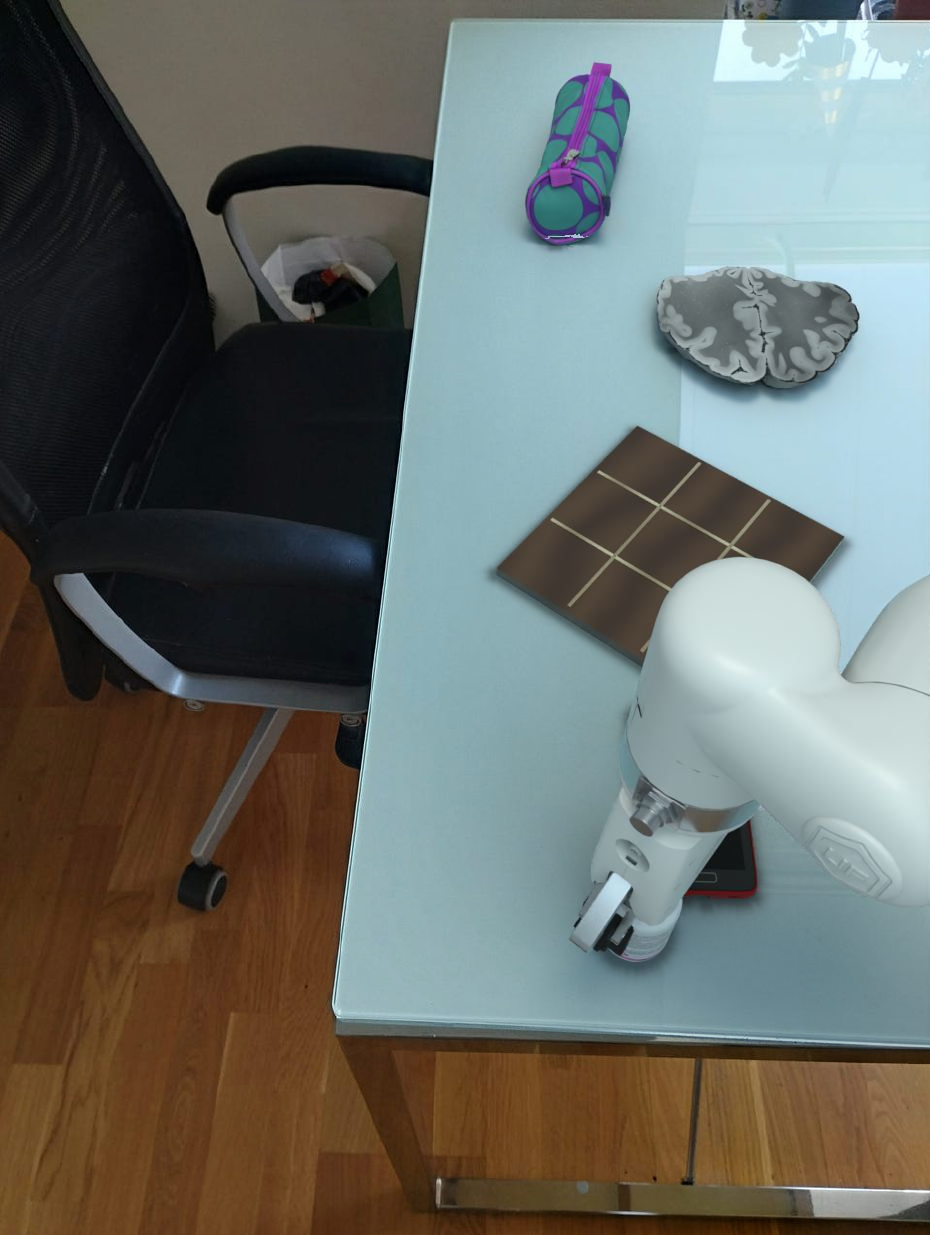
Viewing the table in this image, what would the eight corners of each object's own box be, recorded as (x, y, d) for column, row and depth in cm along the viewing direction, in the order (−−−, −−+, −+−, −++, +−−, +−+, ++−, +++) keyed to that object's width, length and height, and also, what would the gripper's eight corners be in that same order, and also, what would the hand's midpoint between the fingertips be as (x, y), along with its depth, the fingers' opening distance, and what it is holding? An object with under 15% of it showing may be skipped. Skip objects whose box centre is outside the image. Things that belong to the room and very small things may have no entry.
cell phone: (643, 897, 73) (645, 892, 72) (632, 710, 81) (633, 704, 80) (757, 900, 72) (760, 895, 72) (733, 713, 81) (736, 706, 80)
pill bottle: (683, 931, 71) (705, 887, 64) (633, 978, 70) (651, 937, 63) (632, 880, 73) (649, 831, 66) (583, 923, 72) (595, 878, 65)
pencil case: (604, 256, 112) (614, 173, 105) (522, 246, 114) (525, 164, 106) (627, 146, 124) (637, 65, 116) (552, 138, 125) (558, 57, 117)
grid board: (841, 543, 90) (845, 535, 89) (712, 711, 81) (715, 704, 80) (636, 432, 98) (637, 424, 97) (496, 574, 89) (496, 566, 88)
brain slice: (659, 405, 100) (664, 382, 97) (647, 289, 109) (651, 265, 107) (869, 409, 99) (879, 385, 97) (838, 292, 109) (847, 267, 106)
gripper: (666, 938, 47) (617, 1028, 61) (848, 679, 55) (766, 812, 69) (531, 837, 50) (514, 946, 64) (723, 603, 57) (669, 747, 72)
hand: (645, 876), depth 66 cm, fingers open, 9 cm apart
